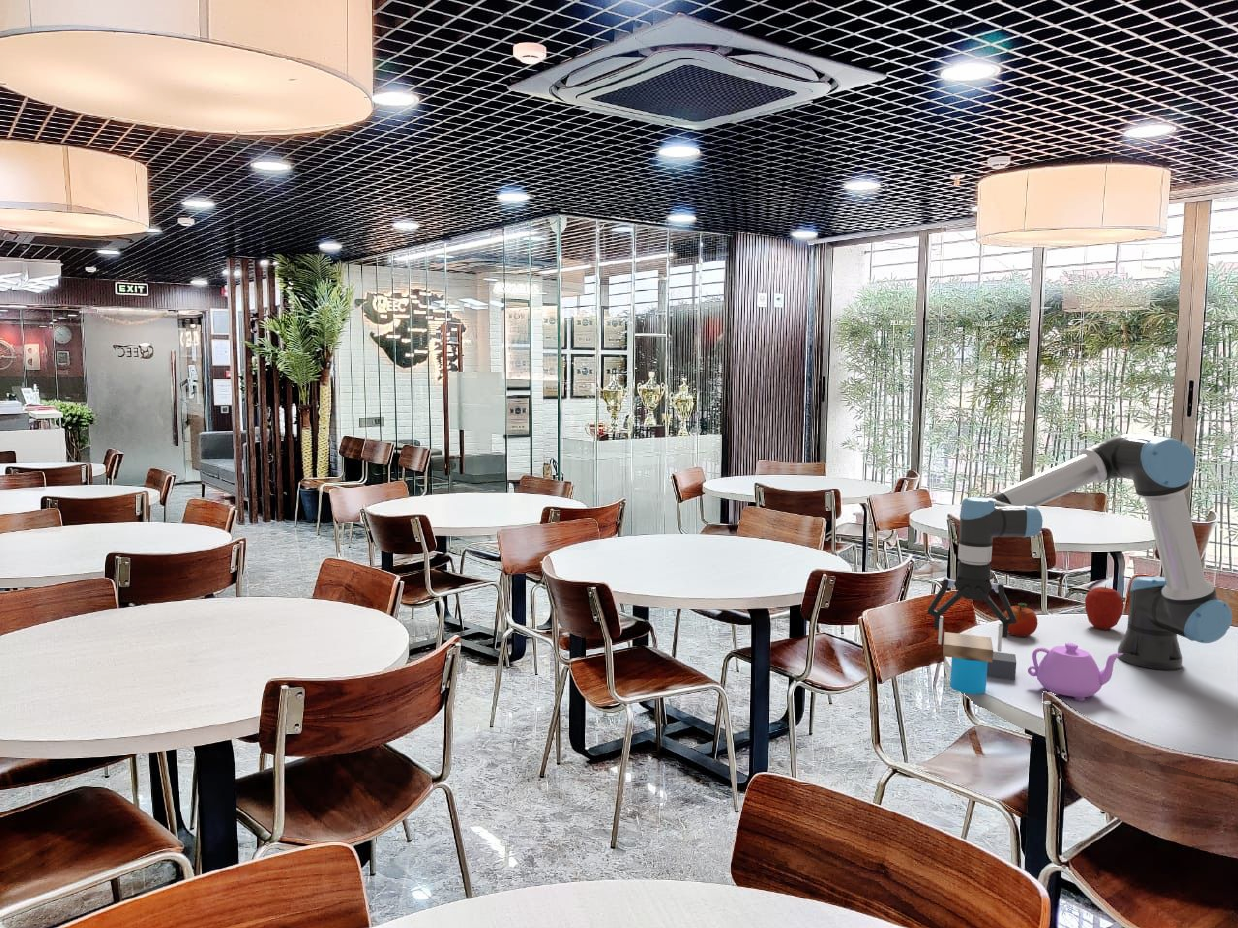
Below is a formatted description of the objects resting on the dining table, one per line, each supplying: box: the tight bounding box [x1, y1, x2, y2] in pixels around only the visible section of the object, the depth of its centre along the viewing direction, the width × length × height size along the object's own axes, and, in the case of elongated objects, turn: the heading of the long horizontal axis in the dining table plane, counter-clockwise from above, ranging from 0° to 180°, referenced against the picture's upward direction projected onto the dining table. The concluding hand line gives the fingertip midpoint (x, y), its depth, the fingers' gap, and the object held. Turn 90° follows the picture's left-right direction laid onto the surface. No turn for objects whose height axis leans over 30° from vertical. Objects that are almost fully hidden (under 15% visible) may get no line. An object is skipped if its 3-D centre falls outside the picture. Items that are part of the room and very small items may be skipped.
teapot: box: [1027, 642, 1123, 702], centre depth 217 cm, size 20×14×12 cm
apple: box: [1084, 584, 1124, 631], centre depth 274 cm, size 10×10×14 cm
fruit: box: [1003, 602, 1039, 638], centre depth 266 cm, size 10×10×10 cm
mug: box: [949, 657, 988, 695], centre depth 222 cm, size 12×8×8 cm
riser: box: [987, 651, 1017, 681], centre depth 231 cm, size 7×7×4 cm
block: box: [942, 631, 994, 662], centre depth 221 cm, size 11×11×3 cm
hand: (969, 646), depth 221 cm, fingers open, 13 cm apart
